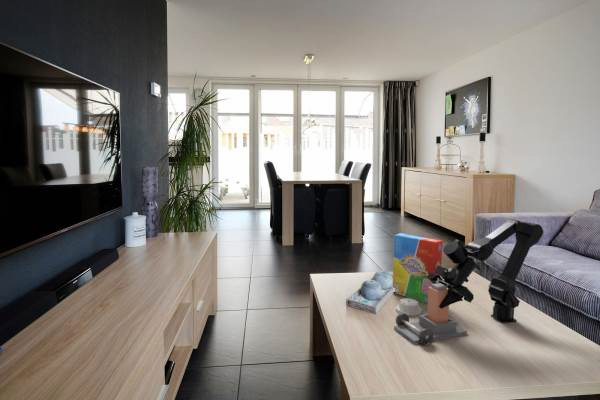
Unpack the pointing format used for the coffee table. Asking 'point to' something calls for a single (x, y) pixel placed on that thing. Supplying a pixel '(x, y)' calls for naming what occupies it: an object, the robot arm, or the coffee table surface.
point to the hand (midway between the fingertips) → (435, 305)
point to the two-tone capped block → (437, 303)
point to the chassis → (426, 329)
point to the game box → (415, 265)
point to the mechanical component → (409, 307)
